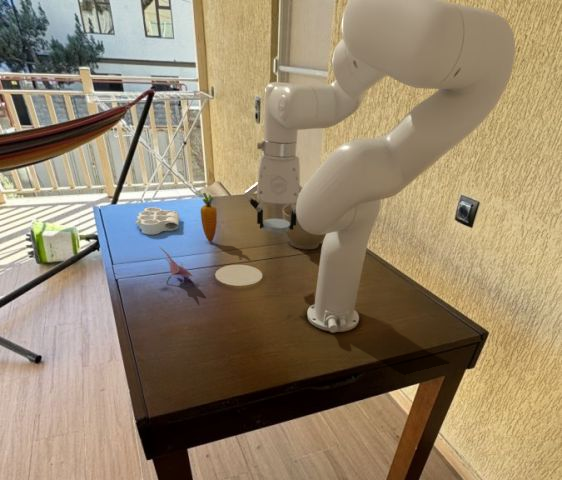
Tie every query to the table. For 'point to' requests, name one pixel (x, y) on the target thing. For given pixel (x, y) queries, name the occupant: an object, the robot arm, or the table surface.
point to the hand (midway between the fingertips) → (276, 226)
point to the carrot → (208, 218)
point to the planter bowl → (301, 233)
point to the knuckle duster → (157, 220)
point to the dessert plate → (238, 275)
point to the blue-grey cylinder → (276, 225)
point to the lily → (177, 269)
